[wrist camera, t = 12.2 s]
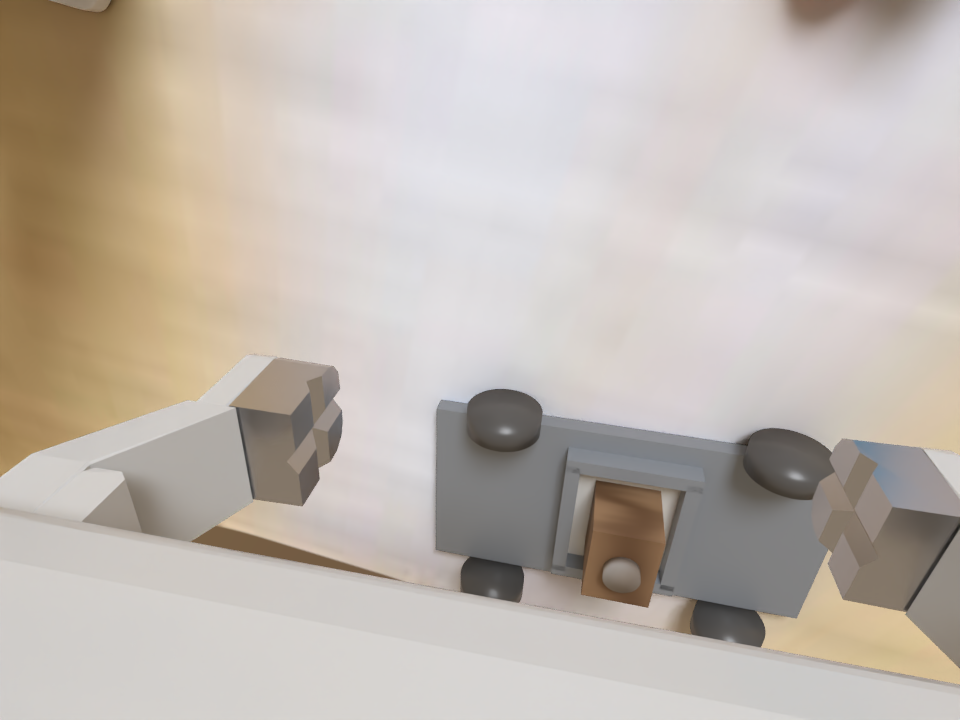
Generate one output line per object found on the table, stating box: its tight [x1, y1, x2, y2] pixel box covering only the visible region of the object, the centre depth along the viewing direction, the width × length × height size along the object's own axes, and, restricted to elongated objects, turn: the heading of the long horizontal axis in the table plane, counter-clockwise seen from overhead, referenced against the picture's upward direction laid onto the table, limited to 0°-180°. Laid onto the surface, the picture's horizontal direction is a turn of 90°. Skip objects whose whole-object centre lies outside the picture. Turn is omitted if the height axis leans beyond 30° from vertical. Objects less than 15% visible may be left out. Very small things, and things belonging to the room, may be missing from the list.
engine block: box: [581, 480, 666, 608], centre depth 41 cm, size 4×6×6 cm
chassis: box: [436, 389, 835, 648], centre depth 42 cm, size 28×17×5 cm, turn 87°
